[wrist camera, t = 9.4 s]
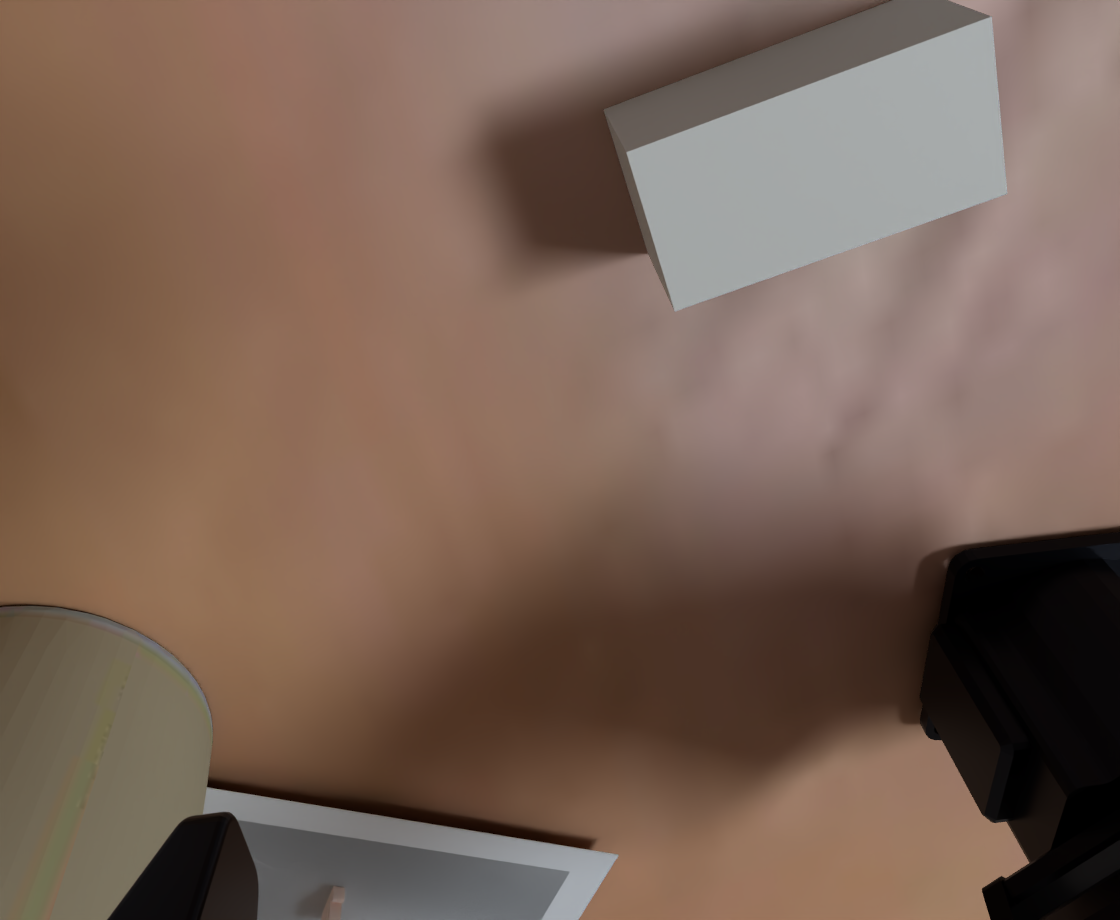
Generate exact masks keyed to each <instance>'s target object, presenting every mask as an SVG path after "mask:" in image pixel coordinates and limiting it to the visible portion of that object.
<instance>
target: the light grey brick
mask: <svg viewBox="0 0 1120 920" xmlns="http://www.w3.org/2000/svg"><path fill="white" fill-rule="evenodd" d="M603 110H604V113H605V117H606V120H607V123H608V126H609V130H610V133H611V136H612V139H613V143H614V146H615V149H616V152H617V155H618V159H619V162H620V165H621V168H622V172H623V175H624V178H625V181H626V184H627V188H628V191H629V194H630V197H631V201H632V204H633V207H634V210H635V213H636V217H637V220H638V223H639V226H640V230H641V233H642V236H643V239H644V243H645V246H646V249H647V252H648V255H649V257H650V259H651V261H652V263H653V266H654V268H655V270H656V272H657V274H658V276H659V279H660V281H661V283H662V285H663V287H664V289H665V292H666V294H667V296H668V298H669V300H670V302H671V305H672V307H673V309H674V311H678V310H680V309H683V308H686V307H689V306H692V305H695V304H697V303H700V302H703V301H706V300H709V299H712V298H714V297H717V296H720V295H723V294H726V293H729V292H731V291H734V290H737V289H740V288H743V287H746V286H748V285H751V284H754V283H757V282H760V281H763V280H765V279H768V278H771V277H774V276H777V275H780V274H782V273H785V272H788V271H791V270H794V269H797V268H799V267H802V266H805V265H808V264H811V263H813V262H816V261H819V260H822V259H825V258H828V257H830V256H833V255H836V254H839V253H842V252H845V251H847V250H850V249H853V248H856V247H859V246H862V245H864V244H867V243H870V242H873V241H876V240H879V239H881V238H884V237H887V236H890V235H893V234H896V233H898V232H901V231H904V230H907V229H910V228H913V227H915V226H918V225H921V224H924V223H927V222H930V221H932V220H935V219H938V218H941V217H944V216H946V215H949V214H952V213H955V212H958V211H961V210H963V209H966V208H969V207H972V206H975V205H978V204H980V203H983V202H986V201H989V200H992V199H995V198H997V197H1000V196H1003V195H1006V194H1007V185H1006V174H1005V162H1004V151H1003V140H1002V128H1001V117H1000V106H999V94H998V83H997V72H996V60H995V49H994V38H993V26H992V16H989V15H986V14H983V13H981V12H978V11H975V10H973V9H970V8H967V7H964V6H962V5H959V4H956V3H953V2H951V1H948V0H892V1H889V2H887V3H884V4H881V5H879V6H876V7H873V8H871V9H868V10H865V11H863V12H860V13H857V14H855V15H852V16H849V17H847V18H844V19H842V20H839V21H836V22H834V23H831V24H828V25H826V26H823V27H820V28H818V29H815V30H812V31H810V32H807V33H804V34H802V35H799V36H797V37H794V38H791V39H789V40H786V41H783V42H781V43H778V44H775V45H773V46H770V47H767V48H765V49H762V50H759V51H757V52H754V53H752V54H749V55H746V56H744V57H741V58H738V59H736V60H733V61H730V62H728V63H725V64H722V65H720V66H717V67H714V68H712V69H709V70H707V71H704V72H701V73H699V74H696V75H693V76H691V77H688V78H685V79H683V80H680V81H677V82H675V83H672V84H669V85H667V86H664V87H662V88H659V89H656V90H654V91H651V92H648V93H646V94H643V95H640V96H638V97H635V98H632V99H630V100H627V101H624V102H622V103H619V104H617V105H614V106H611V107H609V108H606V109H603Z"/></svg>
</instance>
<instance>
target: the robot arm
mask: <svg viewBox="0 0 1120 920" xmlns="http://www.w3.org/2000/svg"><path fill="white" fill-rule="evenodd" d="M974 567H976V568H975V569H973V570H972V571H970V572H967V571H968V570H969V569H971V568H974ZM966 572H967V573H966ZM920 700H921V702H922V704H923V705H922V711H921V716H920V724H921V726H922V728H923V730H924V732H925V734H926V735H927V736H928V737H929V738H930V739H933V740H942V741H943V743H944V745H945V747H946V748H947V750H948V752H949V754H950V756H951V758H952V760H953V761H954V763H955V765H956V767H957V769H958V771H959V773H960V774H961V776H962V778H963V780H964V782H965V784H966V785H967V787H968V789H969V791H970V793H971V795H972V797H973V798H974V800H975V802H976V804H977V806H978V808H979V810H980V811H981V813H982V815H983V816H985V817H986V818H987V819H988V820H990V821H991V822H993V823H998V822H1007V823H1008V825H1009V827H1010V829H1011V831H1012V832H1013V834H1014V836H1015V838H1016V839H1017V841H1018V843H1019V845H1020V847H1021V848H1022V850H1023V852H1024V854H1025V855H1026V857H1027V859H1028V861H1029V864H1027V865H1026V866H1024V867H1023V868H1021V869H1020V870H1018V871H1017V872H1015V873H1013V874H1012V875H1010V876H1009V877H1007V878H1004V877H1002V876H1001V877H999V878H997V879H996V880H994V881H993V882H991V883H990V884H988V885H987V886H985V887H984V888H982V893H983V896H984V899H985V903H986V906H987V909H988V912H989V916H990V919H991V920H1120V532H1115V533H1106V534H1097V535H1089V536H1080V537H1071V538H1063V539H1054V540H1045V541H1036V542H1028V543H1019V544H1010V545H1002V546H993V547H984V548H976V549H969V550H965V551H962V552H961V553H959V554H957V555H956V556H955V557H954V558H953V559H952V560H951V562H950V564H949V566H948V571H947V576H946V582H945V587H944V592H943V598H942V603H941V609H940V614H939V619H938V624H937V625H936V626H935V628H934V630H933V631H932V633H931V636H930V641H929V647H928V652H927V658H926V663H925V669H924V674H923V679H922V685H921V690H920ZM258 898H259V886H258V875H257V870H256V867H255V864H254V861H253V859H252V856H251V854H250V851H249V848H248V846H247V843H246V841H245V838H244V835H243V833H242V830H241V828H240V825H239V823H238V821H237V819H236V817H235V816H234V815H233V814H232V813H230V812H218V813H210V814H202V815H194V816H190V817H187V818H186V819H184V820H183V821H181V822H180V823H179V824H178V825H177V826H176V828H175V829H174V830H173V832H172V833H171V834H170V836H169V837H168V838H167V840H166V841H165V842H164V844H163V845H162V846H161V848H160V849H159V850H158V852H157V853H156V855H155V856H154V857H153V859H152V860H151V861H150V863H149V864H148V865H147V867H146V868H145V869H144V871H143V872H142V873H141V875H140V876H139V877H138V879H137V880H136V881H135V883H134V884H133V885H132V887H131V888H130V890H129V891H128V892H127V894H126V895H125V896H124V898H123V899H122V900H121V902H120V903H119V904H118V906H117V907H116V908H115V910H114V911H113V912H112V914H111V915H110V916H109V918H108V919H107V920H257V915H258Z"/></svg>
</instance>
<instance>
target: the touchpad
mask: <svg viewBox="0 0 1120 920" xmlns="http://www.w3.org/2000/svg"><path fill="white" fill-rule="evenodd" d="M218 812H230V813H232V814H233V815H234V816H235V817H236V819H237V821H238V823H239V825H240V828H241V830H242V833H243V835H244V838H245V841H246V843H247V846H248V848H249V851H250V854H251V856H252V859H253V861H254V864H255V867H256V870H257V875H258V886H259V898H258V915H257V920H578V919H579V918H580V916H581V915H582V913H583V911H584V910H585V908H586V907H587V905H588V903H589V902H590V900H591V899H592V897H593V895H594V894H595V892H596V891H597V889H598V887H599V886H600V884H601V883H602V881H603V879H604V878H605V876H606V875H607V873H608V871H609V870H610V868H611V867H612V865H613V864H614V862H615V860H616V859H617V857H618V856H619V855H618V854H612V853H606V852H600V851H594V850H588V849H582V848H576V847H570V846H564V845H557V844H551V843H545V842H539V841H533V840H527V839H521V838H515V837H508V836H502V835H496V834H490V833H484V832H478V831H472V830H466V829H459V828H453V827H447V826H441V825H435V824H429V823H423V822H417V821H411V820H404V819H398V818H392V817H386V816H380V815H374V814H368V813H362V812H355V811H349V810H343V809H337V808H331V807H325V806H319V805H313V804H306V803H300V802H294V801H288V800H282V799H276V798H270V797H264V796H258V795H251V794H245V793H239V792H233V791H227V790H221V789H215V788H209V787H207V790H206V797H205V803H204V810H203V814H210V813H218Z"/></svg>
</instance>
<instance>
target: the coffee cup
mask: <svg viewBox="0 0 1120 920" xmlns="http://www.w3.org/2000/svg"><path fill="white" fill-rule="evenodd" d="M212 742H213V726H212V719H211V714H210V710H209V707H208V704H207V701H206V698H205V696H204V694H203V692H202V690H201V688H200V687H199V685H198V683H197V682H196V680H195V679H194V678H193V676H192V675H191V674H190V673H189V671H188V670H187V669H186V668H185V667H184V666H183V665H182V664H181V663H180V662H179V661H178V660H177V659H176V658H175V657H174V656H173V655H172V654H171V653H170V652H168V651H167V650H166V649H164V648H163V647H162V646H160V645H158V644H157V643H156V642H154V641H152V640H151V639H149V638H147V637H145V636H144V635H142V634H140V633H138V632H137V631H135V630H133V629H131V628H128V627H126V626H123V625H121V624H118V623H116V622H113V621H111V620H109V619H106V618H103V617H99V616H96V615H92V614H89V613H84V612H78V611H73V610H68V609H63V608H58V607H43V606H11V607H0V920H107V919H108V918H109V916H110V915H111V914H112V912H113V911H114V910H115V908H116V907H117V906H118V904H119V903H120V902H121V900H122V899H123V898H124V896H125V895H126V894H127V892H128V891H129V890H130V888H131V887H132V885H133V884H134V883H135V881H136V880H137V879H138V877H139V876H140V875H141V873H142V872H143V871H144V869H145V868H146V867H147V865H148V864H149V863H150V861H151V860H152V859H153V857H154V856H155V855H156V853H157V852H158V850H159V849H160V848H161V846H162V845H163V844H164V842H165V841H166V840H167V838H168V837H169V836H170V834H171V833H172V832H173V830H174V829H175V828H176V826H177V825H178V824H179V823H180V822H181V821H183V820H184V819H186V818H187V817H190V816H194V815H202V814H203V810H204V803H205V797H206V790H207V782H208V774H209V766H210V758H211V750H212Z"/></svg>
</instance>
